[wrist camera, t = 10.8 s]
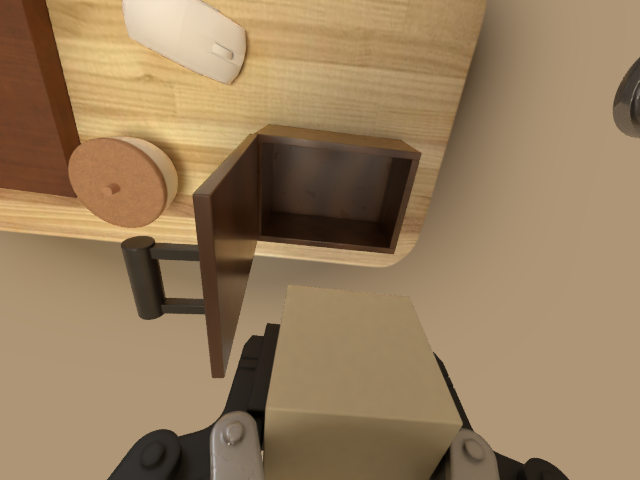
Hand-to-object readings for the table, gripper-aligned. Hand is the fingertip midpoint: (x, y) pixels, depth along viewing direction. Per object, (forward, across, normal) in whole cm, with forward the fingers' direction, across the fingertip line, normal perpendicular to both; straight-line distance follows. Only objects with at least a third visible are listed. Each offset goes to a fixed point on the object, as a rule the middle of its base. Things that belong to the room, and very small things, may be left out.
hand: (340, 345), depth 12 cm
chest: (+31, 0, +2) cm, 31 cm away
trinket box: (+31, +25, +3) cm, 40 cm away
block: (+1, 0, 0) cm, 1 cm away
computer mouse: (+31, +17, -13) cm, 38 cm away
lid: (+13, +7, +2) cm, 15 cm away
